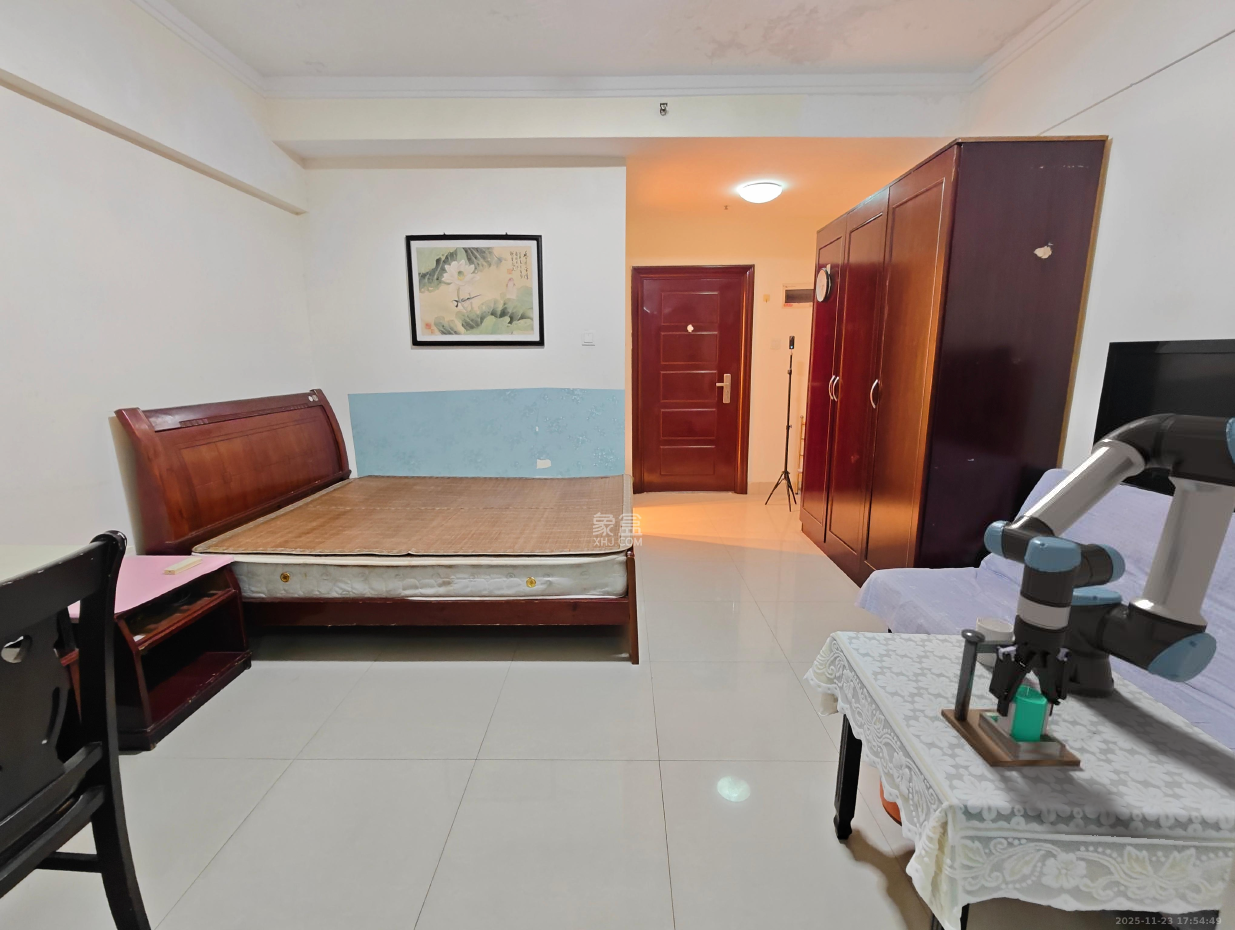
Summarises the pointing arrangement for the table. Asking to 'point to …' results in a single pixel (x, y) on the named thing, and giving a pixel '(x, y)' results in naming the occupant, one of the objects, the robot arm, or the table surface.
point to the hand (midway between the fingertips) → (1020, 729)
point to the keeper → (972, 667)
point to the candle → (1028, 715)
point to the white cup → (993, 636)
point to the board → (1008, 742)
